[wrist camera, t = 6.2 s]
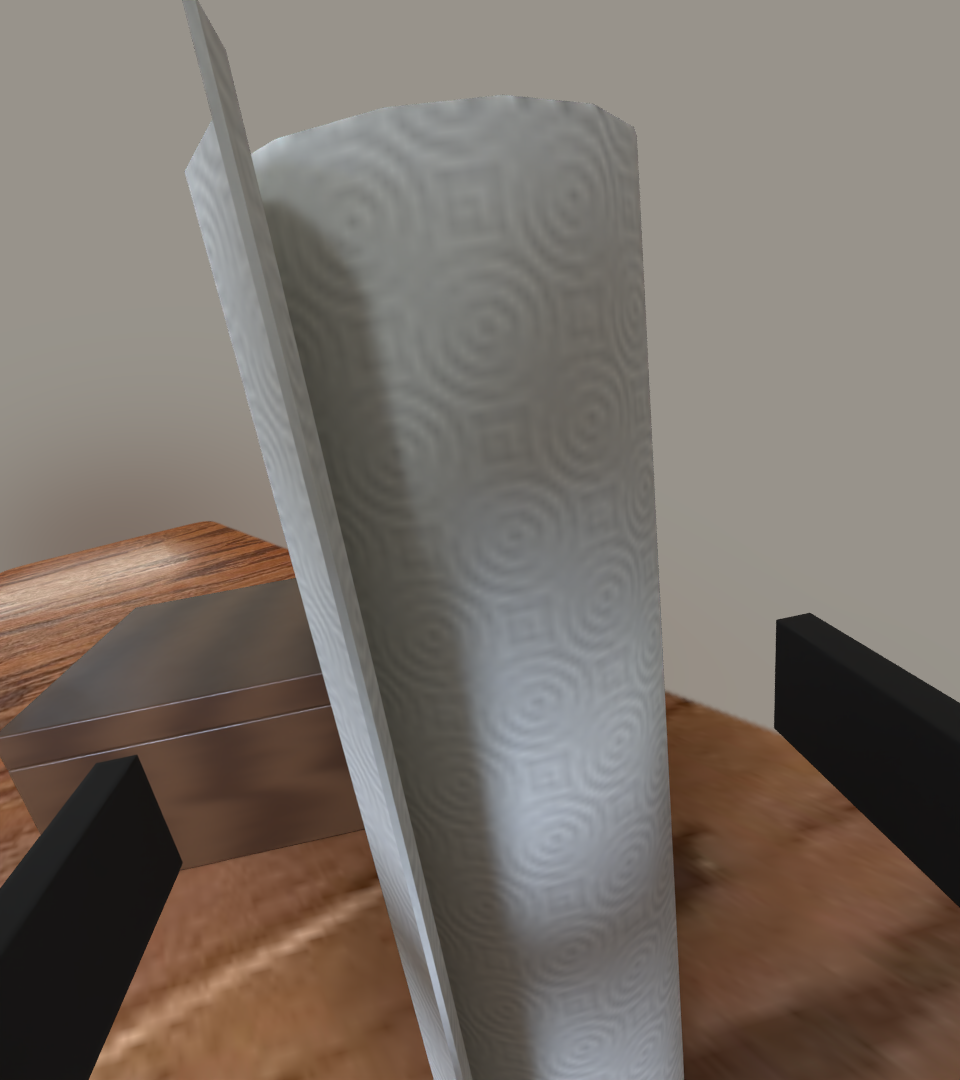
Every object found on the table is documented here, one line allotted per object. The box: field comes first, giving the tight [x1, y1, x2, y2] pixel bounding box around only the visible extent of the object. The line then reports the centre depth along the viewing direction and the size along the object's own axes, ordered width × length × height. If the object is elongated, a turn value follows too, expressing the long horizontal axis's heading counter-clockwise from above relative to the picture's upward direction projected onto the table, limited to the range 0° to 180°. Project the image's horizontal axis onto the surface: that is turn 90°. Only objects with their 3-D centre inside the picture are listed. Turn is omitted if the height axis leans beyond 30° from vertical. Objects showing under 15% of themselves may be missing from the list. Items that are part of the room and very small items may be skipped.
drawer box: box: [0, 578, 365, 870], centre depth 28 cm, size 16×12×8 cm
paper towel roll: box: [182, 0, 684, 1080], centre depth 11 cm, size 7×6×21 cm
